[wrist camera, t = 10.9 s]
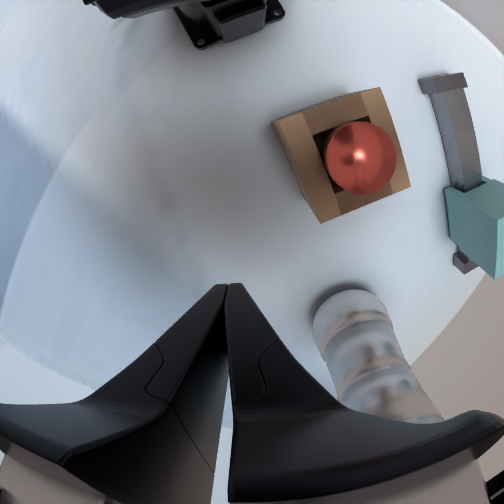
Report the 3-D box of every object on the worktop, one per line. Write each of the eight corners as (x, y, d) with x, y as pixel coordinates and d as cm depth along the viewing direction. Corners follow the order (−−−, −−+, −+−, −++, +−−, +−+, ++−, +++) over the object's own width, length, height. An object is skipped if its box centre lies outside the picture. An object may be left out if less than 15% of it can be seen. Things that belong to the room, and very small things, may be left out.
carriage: (442, 189, 19) (497, 220, 13) (479, 173, 18) (533, 197, 12) (448, 240, 21) (494, 280, 15) (483, 221, 20) (530, 254, 14)
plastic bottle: (301, 291, 23) (354, 550, 5) (376, 269, 22) (494, 488, 4) (314, 343, 26) (353, 547, 8) (379, 323, 25) (455, 508, 7)
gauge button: (297, 131, 16) (316, 135, 12) (347, 113, 16) (383, 113, 11) (318, 181, 18) (342, 205, 13) (365, 163, 17) (403, 181, 12)
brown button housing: (271, 121, 17) (278, 121, 13) (353, 92, 16) (384, 85, 12) (304, 199, 20) (320, 223, 15) (380, 169, 19) (414, 185, 14)
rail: (417, 79, 15) (432, 77, 13) (448, 73, 15) (463, 72, 13) (453, 264, 22) (464, 274, 20) (477, 250, 22) (488, 259, 20)
